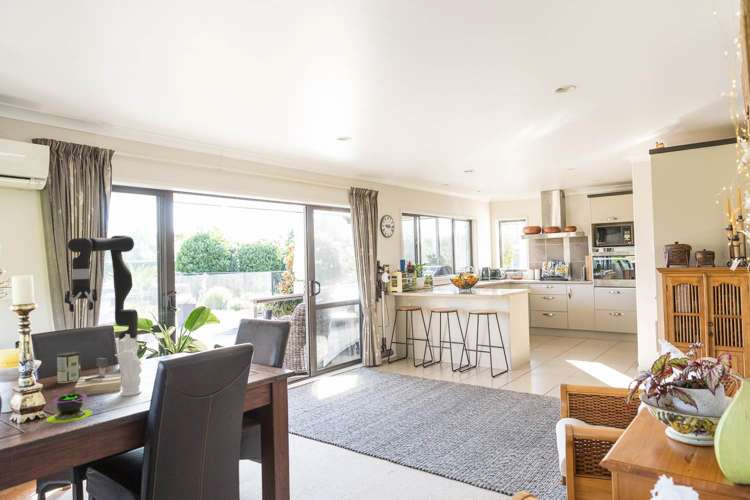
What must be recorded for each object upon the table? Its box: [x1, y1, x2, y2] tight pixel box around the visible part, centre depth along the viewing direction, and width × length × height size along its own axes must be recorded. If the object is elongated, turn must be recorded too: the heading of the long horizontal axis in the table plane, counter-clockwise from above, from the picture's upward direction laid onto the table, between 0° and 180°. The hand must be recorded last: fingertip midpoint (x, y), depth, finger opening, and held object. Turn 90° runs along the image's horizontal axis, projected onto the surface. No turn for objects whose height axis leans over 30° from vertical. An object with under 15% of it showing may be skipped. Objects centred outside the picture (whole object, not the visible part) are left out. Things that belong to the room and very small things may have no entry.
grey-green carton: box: [56, 350, 82, 384], centre depth 247 cm, size 10×10×14 cm
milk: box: [119, 334, 136, 378], centre depth 253 cm, size 6×6×22 cm
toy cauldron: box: [46, 387, 93, 424], centre depth 186 cm, size 15×15×11 cm
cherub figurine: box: [114, 342, 142, 397], centre depth 218 cm, size 12×12×22 cm
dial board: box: [74, 371, 122, 397], centre depth 230 cm, size 24×18×4 cm
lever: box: [85, 357, 108, 381], centre depth 230 cm, size 9×6×9 cm, turn 149°
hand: (81, 311), depth 238 cm, fingers open, 8 cm apart
